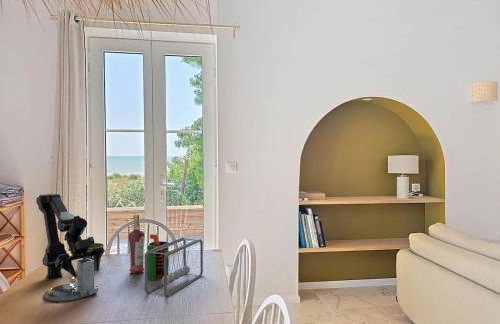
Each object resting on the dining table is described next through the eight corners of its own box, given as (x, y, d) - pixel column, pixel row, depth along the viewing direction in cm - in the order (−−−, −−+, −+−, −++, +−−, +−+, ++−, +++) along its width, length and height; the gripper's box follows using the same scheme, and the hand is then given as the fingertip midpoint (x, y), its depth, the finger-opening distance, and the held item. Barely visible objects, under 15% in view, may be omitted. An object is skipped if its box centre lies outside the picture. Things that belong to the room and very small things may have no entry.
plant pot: (109, 266, 191) (109, 244, 191) (88, 272, 181) (88, 249, 181) (95, 262, 198) (94, 241, 197) (74, 268, 188) (73, 246, 187)
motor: (161, 281, 170) (161, 237, 169) (143, 279, 172) (143, 236, 171) (170, 274, 180) (170, 232, 179) (153, 272, 181) (153, 231, 181)
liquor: (138, 275, 177) (138, 216, 176) (125, 274, 179) (125, 215, 179) (147, 271, 184) (147, 214, 183) (135, 269, 186) (134, 213, 186)
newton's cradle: (184, 272, 181) (184, 236, 181) (203, 275, 177) (203, 238, 177) (144, 295, 154) (144, 251, 153) (165, 298, 150) (165, 254, 149)
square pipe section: (70, 292, 154) (69, 260, 153) (91, 286, 161) (91, 256, 160) (79, 298, 148) (79, 265, 147) (101, 291, 155) (101, 260, 154)
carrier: (43, 289, 159) (43, 280, 159) (92, 282, 169) (91, 273, 169) (44, 305, 143) (44, 295, 143) (97, 296, 152) (97, 286, 152)
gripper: (57, 235, 149) (69, 268, 142) (102, 227, 163) (115, 257, 156) (49, 251, 155) (61, 284, 148) (94, 242, 168) (106, 272, 161)
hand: (87, 274), depth 153 cm, fingers open, 9 cm apart
